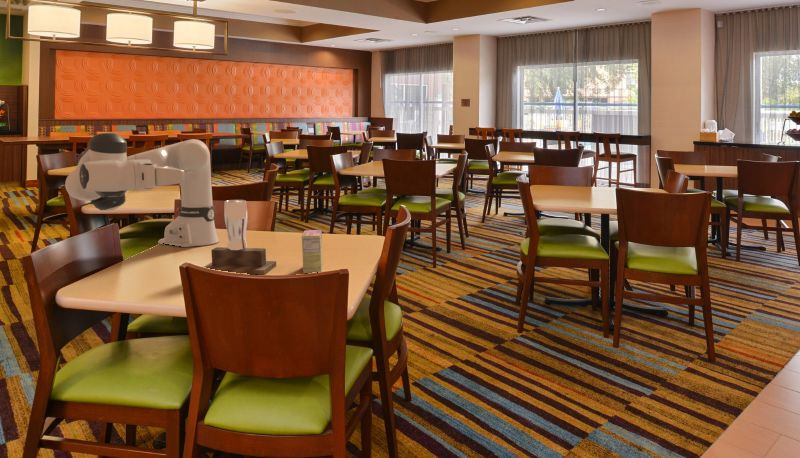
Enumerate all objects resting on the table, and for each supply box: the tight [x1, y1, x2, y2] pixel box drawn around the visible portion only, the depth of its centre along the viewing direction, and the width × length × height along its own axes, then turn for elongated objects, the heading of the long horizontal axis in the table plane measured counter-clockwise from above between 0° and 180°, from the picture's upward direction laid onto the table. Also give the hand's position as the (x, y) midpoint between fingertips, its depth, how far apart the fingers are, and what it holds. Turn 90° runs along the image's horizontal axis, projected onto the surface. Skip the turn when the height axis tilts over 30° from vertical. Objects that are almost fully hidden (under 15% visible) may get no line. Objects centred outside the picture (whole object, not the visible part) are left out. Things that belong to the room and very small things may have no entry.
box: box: [301, 229, 324, 274], centre depth 192 cm, size 10×6×12 cm, turn 5°
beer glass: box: [223, 199, 249, 251], centre depth 191 cm, size 7×7×15 cm
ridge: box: [203, 246, 277, 276], centre depth 192 cm, size 20×12×6 cm, turn 84°
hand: (194, 173), depth 182 cm, fingers open, 8 cm apart
